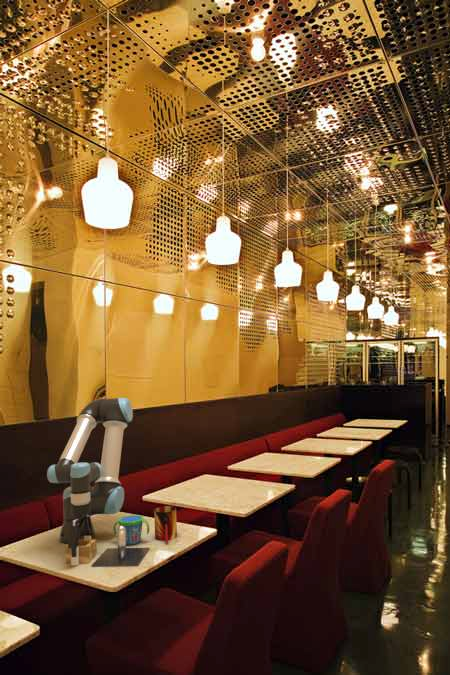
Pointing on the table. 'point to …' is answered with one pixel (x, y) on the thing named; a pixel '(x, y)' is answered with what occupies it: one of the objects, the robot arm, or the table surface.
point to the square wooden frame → (84, 551)
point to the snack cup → (132, 528)
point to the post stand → (121, 553)
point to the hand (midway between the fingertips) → (81, 558)
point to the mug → (165, 523)
